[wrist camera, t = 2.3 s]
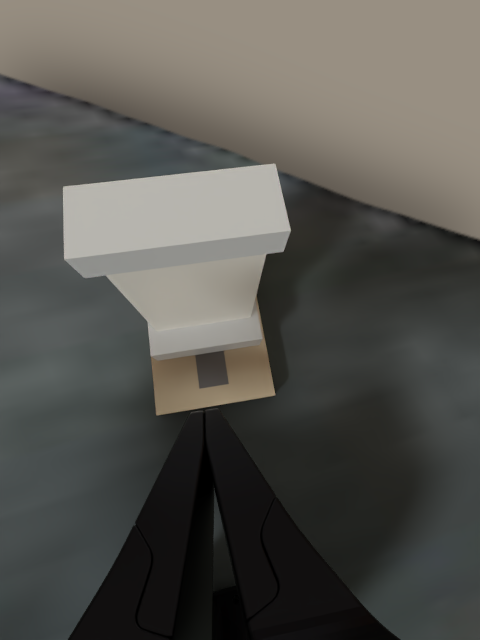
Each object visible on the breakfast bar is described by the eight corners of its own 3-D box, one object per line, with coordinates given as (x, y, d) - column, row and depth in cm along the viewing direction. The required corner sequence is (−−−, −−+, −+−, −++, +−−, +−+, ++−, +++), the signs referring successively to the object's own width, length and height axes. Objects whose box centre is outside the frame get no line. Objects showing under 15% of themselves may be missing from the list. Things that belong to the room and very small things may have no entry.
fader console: (275, 395, 23) (278, 394, 21) (158, 415, 22) (153, 416, 21) (236, 191, 27) (237, 178, 26) (138, 202, 27) (133, 190, 25)
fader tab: (259, 344, 22) (298, 264, 10) (157, 360, 21) (64, 296, 9) (247, 278, 23) (268, 135, 11) (151, 292, 23) (62, 156, 10)
